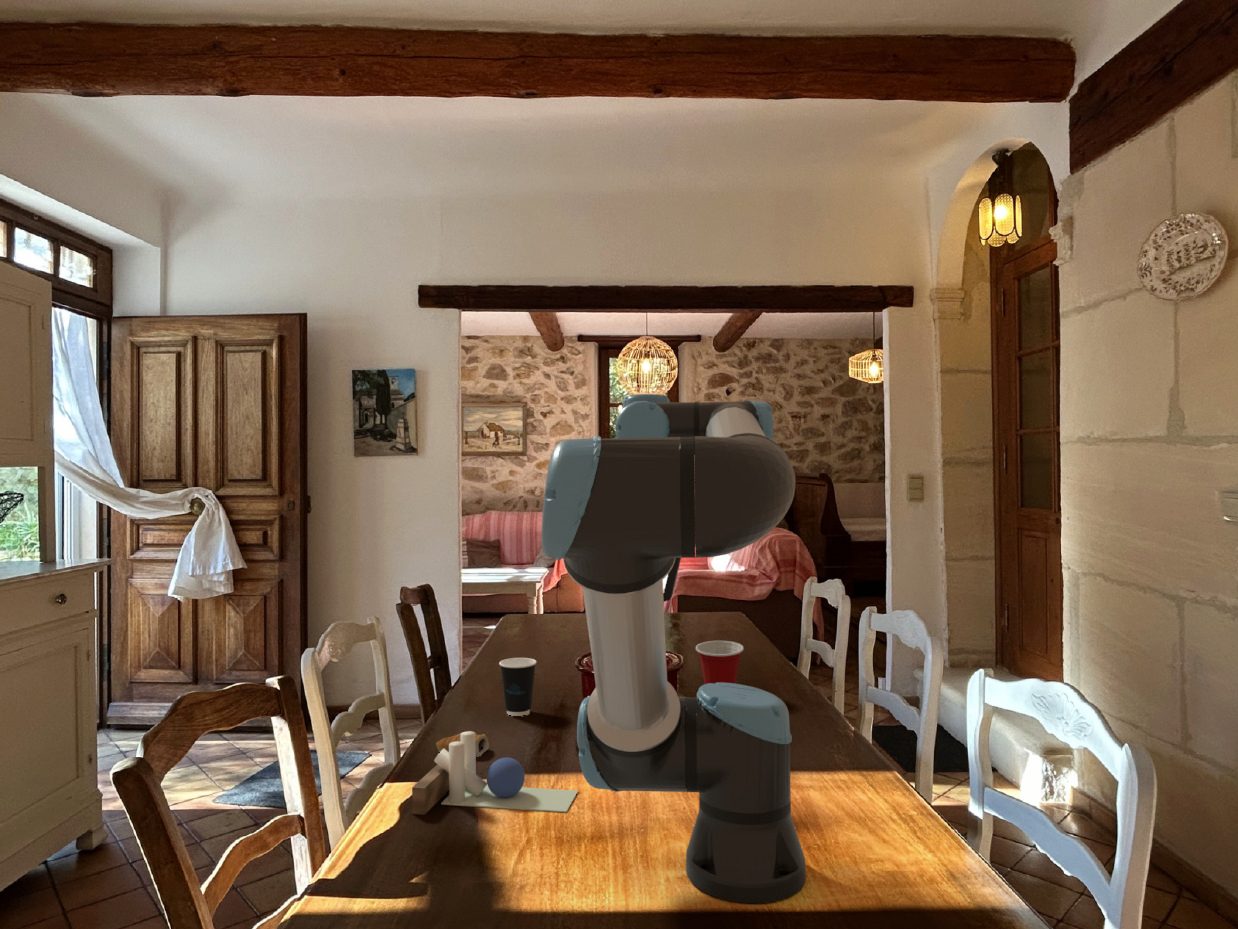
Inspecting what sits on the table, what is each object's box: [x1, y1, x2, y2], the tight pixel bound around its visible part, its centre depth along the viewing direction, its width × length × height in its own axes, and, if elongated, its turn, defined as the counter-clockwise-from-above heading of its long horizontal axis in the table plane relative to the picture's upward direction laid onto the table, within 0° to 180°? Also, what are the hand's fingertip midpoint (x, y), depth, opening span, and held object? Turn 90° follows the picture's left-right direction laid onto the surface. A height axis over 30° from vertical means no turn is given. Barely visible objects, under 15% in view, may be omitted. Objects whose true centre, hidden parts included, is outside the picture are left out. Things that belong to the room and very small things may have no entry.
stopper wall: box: [411, 763, 449, 816], centre depth 131 cm, size 16×2×4 cm, turn 170°
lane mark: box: [441, 785, 579, 813], centre depth 128 cm, size 8×20×1 cm, turn 80°
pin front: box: [433, 749, 487, 797], centre depth 130 cm, size 2×2×9 cm
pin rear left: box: [459, 730, 477, 791], centre depth 132 cm, size 2×2×9 cm
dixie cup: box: [498, 657, 538, 717], centre depth 173 cm, size 8×8×11 cm
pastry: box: [435, 733, 490, 758], centre depth 150 cm, size 9×7×4 cm
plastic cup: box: [695, 640, 744, 685], centre depth 183 cm, size 11×11×12 cm
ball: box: [486, 757, 525, 798], centre depth 129 cm, size 6×6×6 cm
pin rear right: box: [448, 741, 465, 803], centre depth 127 cm, size 2×2×9 cm
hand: (648, 645), depth 126 cm, fingers closed
